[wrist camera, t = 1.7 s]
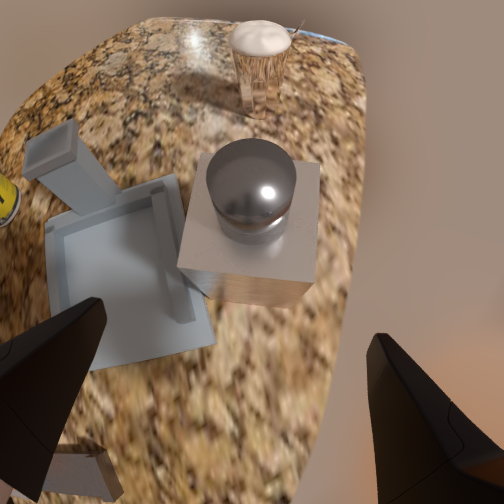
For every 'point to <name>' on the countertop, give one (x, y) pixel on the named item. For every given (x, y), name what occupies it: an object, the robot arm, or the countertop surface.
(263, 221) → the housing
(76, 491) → the rail
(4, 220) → the supplement bottle
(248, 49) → the milkshake
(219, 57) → the countertop surface
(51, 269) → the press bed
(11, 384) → the robot arm
